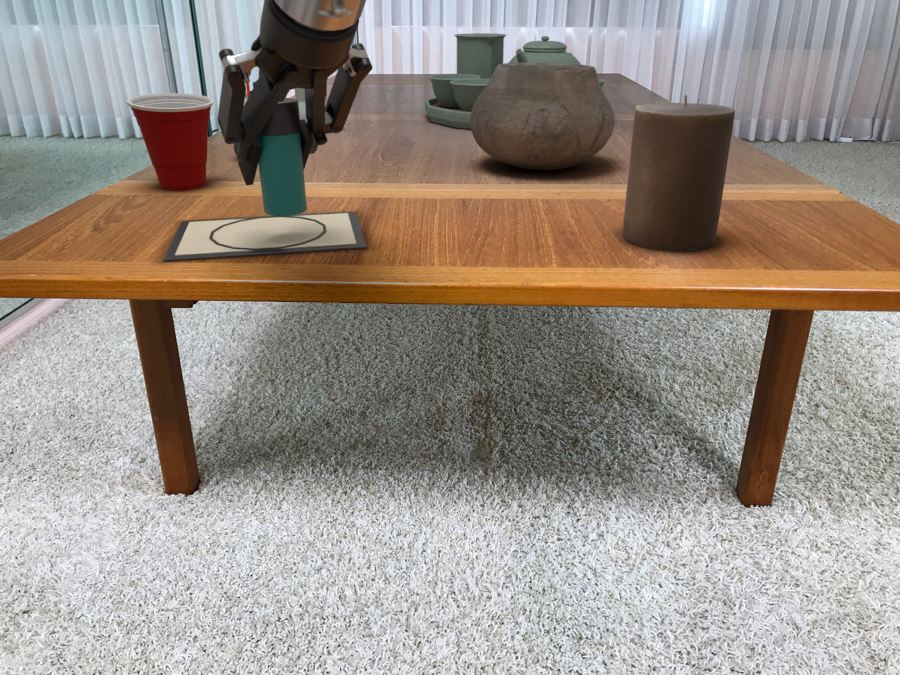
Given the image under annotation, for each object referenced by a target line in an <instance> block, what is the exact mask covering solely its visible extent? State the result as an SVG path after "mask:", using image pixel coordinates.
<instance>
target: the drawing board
mask: <svg viewBox="0 0 900 675" xmlns="http://www.w3.org/2000/svg"><path fill="white" fill-rule="evenodd" d="M367 249H368V245H367V242H366V239H365V237H364V234H363V230H362V227H361V224H360V221H359V218H358V215H357V212H356V211H355V210H354V211H337V212H320V213H317V212H316V213H300V214H296V215H290V216H273V215H265V216H263V215H262V216H245V217H231V218H230V217H228V218H227V217H226V218H212V219H193V220H181V221H180V224H179V226H178V228H177V230H176V232H175V234H174V236H173V239H172V241H171V242H170V245H169V247H168V249H167V250H166V253H165V255H164V257H163V259H162V263H175V262H189V261H190V262H192V261H206V260H222V259H223V260H224V259H236V258H253V257H266V256H279V255H280V256H281V255H282V256H284V255H297V254H312V253H313V254H314V253H326V252H327V253H328V252H343V251H356V250H357V251H359V250H367Z"/></svg>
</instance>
